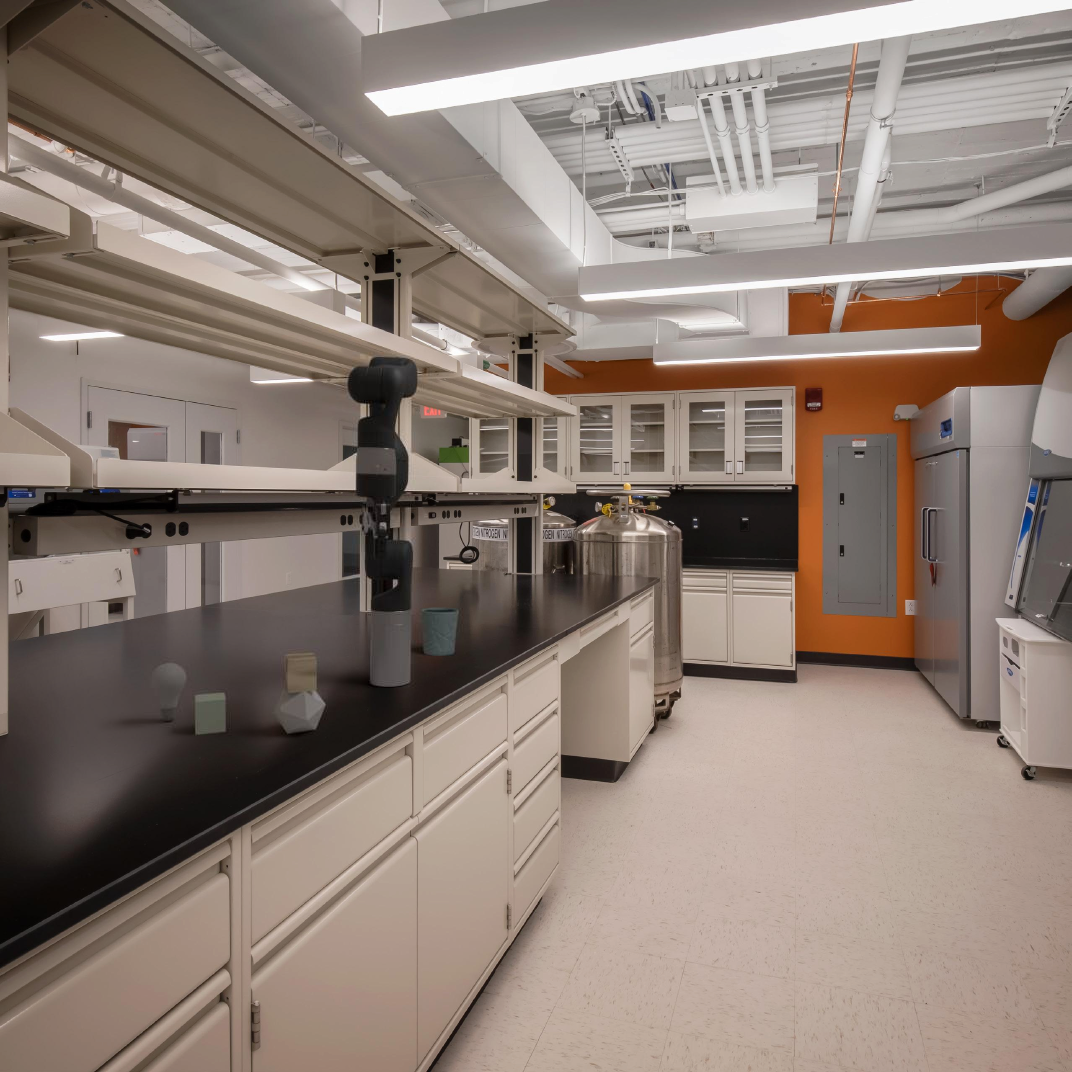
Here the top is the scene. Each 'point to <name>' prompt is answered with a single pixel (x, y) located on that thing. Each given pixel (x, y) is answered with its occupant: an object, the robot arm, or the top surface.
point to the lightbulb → (168, 687)
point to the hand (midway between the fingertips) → (375, 556)
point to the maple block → (300, 672)
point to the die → (299, 711)
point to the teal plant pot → (439, 630)
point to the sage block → (210, 713)
